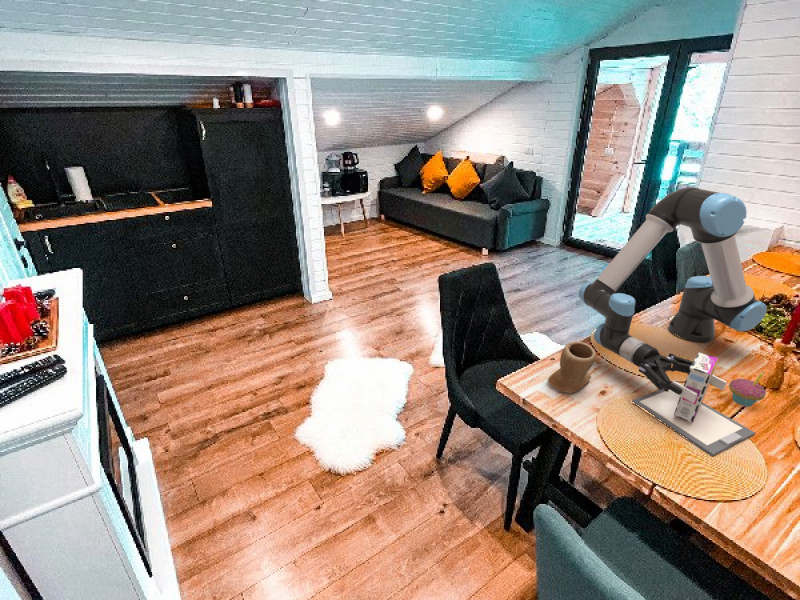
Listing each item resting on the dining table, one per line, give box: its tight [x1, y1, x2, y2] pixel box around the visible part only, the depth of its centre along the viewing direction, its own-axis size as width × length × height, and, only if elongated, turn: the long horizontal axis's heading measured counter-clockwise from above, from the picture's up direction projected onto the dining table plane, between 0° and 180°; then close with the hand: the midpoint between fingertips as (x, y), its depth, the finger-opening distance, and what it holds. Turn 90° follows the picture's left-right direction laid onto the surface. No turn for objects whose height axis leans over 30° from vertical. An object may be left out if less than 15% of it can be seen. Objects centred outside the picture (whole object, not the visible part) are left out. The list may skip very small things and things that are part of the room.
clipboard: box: [631, 388, 756, 457], centre depth 120 cm, size 18×24×2 cm
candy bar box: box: [674, 352, 719, 423], centre depth 117 cm, size 11×5×16 cm, turn 136°
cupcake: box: [728, 371, 766, 408], centre depth 124 cm, size 9×8×12 cm
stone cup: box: [547, 340, 596, 394], centre depth 134 cm, size 15×12×15 cm
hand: (710, 392), depth 114 cm, fingers closed on candy bar box, 12 cm apart
